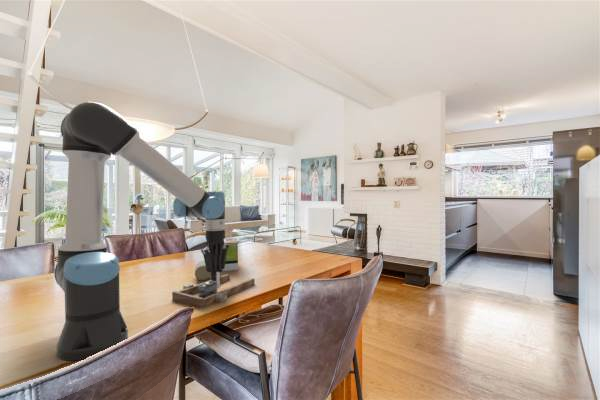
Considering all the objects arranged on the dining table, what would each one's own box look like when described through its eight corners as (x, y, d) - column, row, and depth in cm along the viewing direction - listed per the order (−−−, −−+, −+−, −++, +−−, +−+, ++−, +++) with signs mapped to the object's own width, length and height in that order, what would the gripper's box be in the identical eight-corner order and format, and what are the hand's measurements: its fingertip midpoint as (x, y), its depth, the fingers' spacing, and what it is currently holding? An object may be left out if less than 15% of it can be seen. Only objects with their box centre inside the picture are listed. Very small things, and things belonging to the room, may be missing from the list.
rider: (207, 299, 108) (207, 286, 108) (194, 296, 112) (194, 283, 112) (221, 293, 114) (220, 281, 114) (208, 290, 118) (208, 279, 118)
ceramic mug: (194, 282, 129) (194, 265, 129) (195, 277, 137) (195, 260, 137) (219, 280, 133) (219, 263, 132) (218, 275, 140) (218, 259, 140)
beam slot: (206, 309, 99) (206, 300, 99) (168, 298, 109) (168, 290, 109) (258, 285, 125) (258, 278, 125) (224, 278, 135) (223, 272, 135)
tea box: (217, 264, 161) (217, 238, 160) (235, 263, 164) (235, 237, 163) (218, 271, 146) (217, 242, 146) (238, 270, 149) (238, 241, 149)
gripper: (209, 232, 109) (210, 294, 109) (233, 228, 120) (234, 284, 121) (195, 230, 112) (196, 291, 113) (220, 227, 124) (220, 282, 124)
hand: (216, 288), depth 117 cm, fingers closed
